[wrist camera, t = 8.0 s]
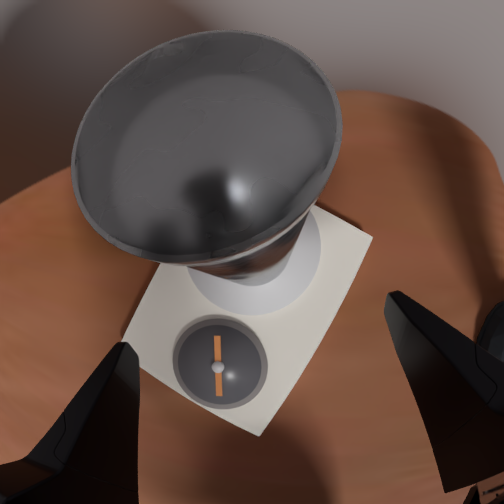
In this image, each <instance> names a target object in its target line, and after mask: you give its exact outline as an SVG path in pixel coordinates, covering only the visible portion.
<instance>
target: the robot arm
mask: <svg viewBox="0 0 504 504" xmlns="http://www.w3.org/2000/svg"><path fill="white" fill-rule="evenodd" d="M384 315H385V318H386V321H387V324H388V327H389V331H390V334H391V337H392V340H393V343H394V346H395V350H396V353H397V355H398V358H399V360H400V362H401V365H402V367H403V370H404V372H405V374H406V377H407V379H408V382H409V384H410V387H411V389H412V392H413V395H414V397H415V400H416V402H417V405H418V408H419V411H420V413H421V416H422V419H423V422H424V425H425V428H426V431H427V434H428V437H429V440H430V443H431V446H432V448H433V453H434V456H435V459H436V463H437V466H438V470H439V473H440V477H441V481H442V485H443V489H444V492H445V493H448V492H451V491H454V490H457V489H461V488H464V487H467V486H469V485H472V484H475V483H476V485H474V486H473V487H471V488H470V490H469V493H468V495H467V497H466V499H465V501H464V503H463V504H504V362H502V361H501V360H499V359H498V358H496V357H495V356H493V355H492V354H490V353H489V352H487V351H486V350H485V349H483V348H482V347H480V346H479V345H478V344H476V343H474V342H473V341H472V340H471V339H469V338H468V337H466V336H465V335H464V334H462V333H461V332H459V331H458V330H457V329H455V328H454V327H452V326H451V325H450V324H448V323H447V322H445V321H444V320H442V319H441V318H439V317H438V316H437V315H435V314H434V313H432V312H431V311H429V310H428V309H426V308H425V307H423V306H422V305H420V304H419V303H417V302H416V301H414V300H413V299H411V298H410V297H408V296H407V295H405V294H404V293H402V292H401V291H398V290H397V291H393V292H390V293H388V294H387V296H386V302H385V307H384ZM139 406H140V375H139V357H138V354H137V353H136V352H135V350H134V349H133V348H132V347H131V345H130V344H129V343H128V342H117V343H116V344H115V345H114V346H113V348H112V349H111V350H110V351H109V353H108V354H107V355H106V356H105V358H104V359H103V360H102V361H101V363H100V364H99V365H98V366H97V368H96V369H95V370H94V372H93V373H92V374H91V375H90V377H89V378H88V379H87V381H86V382H85V383H84V384H83V386H82V387H81V388H80V390H79V391H78V392H77V394H76V395H75V396H74V398H73V399H72V400H71V402H70V403H69V404H68V406H67V407H66V408H65V410H64V412H62V414H61V415H60V417H59V418H58V419H57V421H56V422H55V423H54V424H53V426H52V427H51V428H50V430H49V431H48V432H47V433H46V434H45V436H44V437H43V438H42V439H41V440H40V441H39V443H38V444H37V445H36V446H35V447H34V448H33V450H32V451H31V452H30V453H29V454H28V455H27V456H26V457H24V458H23V459H20V460H17V461H14V462H10V463H6V464H2V465H0V504H139V498H138V424H139Z"/></svg>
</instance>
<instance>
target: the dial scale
mask: <svg viewBox="0 0 504 504" xmlns="http://www.w3.org/2000/svg"><path fill="white" fill-rule="evenodd" d="M372 238H373V237H372V236H370V235H368V234H366V233H365V232H363V231H361V230H359V229H358V228H356V227H354V226H352V225H351V224H349V223H347V222H345V221H343V220H342V219H340V218H338V217H336V216H334V215H332V214H331V213H329V212H327V211H325V210H323V209H321V208H319V207H317V206H316V205H313V206H312V208H311V209H310V211H309V213H308V216H307V218H306V221H305V223H304V226H303V228H302V230H301V233H300V235H299V238H298V240H297V242H296V245H295V247H294V249H293V252H292V254H291V256H290V259H289V261H288V263H287V265H286V267H285V269H284V270H283V271H282V273H281V274H280V275H279V276H278V277H277V278H275V279H274V280H272V281H271V282H269V283H266V284H263V285H259V286H244V285H240V284H237V283H234V282H231V281H228V280H225V279H222V278H219V277H216V276H213V275H210V274H207V273H204V272H201V271H198V270H195V269H192V268H189V267H186V266H175V265H168V264H164V263H160V265H159V267H158V269H157V271H156V273H155V275H154V276H153V278H152V280H151V282H150V284H149V286H148V288H147V290H146V292H145V294H144V296H143V298H142V300H141V302H140V304H139V306H138V308H137V310H136V312H135V314H134V316H133V318H132V320H131V322H130V324H129V326H128V328H127V330H126V332H125V335H124V337H123V339H122V341H121V342H128V343H129V344H130V345H131V347H132V348H133V349H134V350H135V352H136V353H137V354H138V357H139V366H140V367H141V368H142V369H144V370H145V371H147V372H148V373H149V374H151V375H152V376H154V377H155V378H157V379H158V380H160V381H161V382H163V383H164V384H166V385H167V386H169V387H170V388H172V389H173V390H175V391H176V392H178V393H179V394H181V395H183V396H184V397H186V398H188V399H189V400H191V401H193V402H194V403H196V404H198V405H199V406H201V407H203V408H205V409H206V410H208V411H210V412H212V413H213V414H215V415H217V416H219V417H221V418H223V419H224V420H226V421H228V422H230V423H232V424H234V425H236V426H238V427H240V428H242V429H244V430H246V431H248V432H250V433H252V434H254V435H257V436H260V435H261V433H262V432H263V431H264V429H265V428H266V427H267V425H268V424H269V422H270V421H271V419H272V418H273V417H274V415H275V414H276V412H277V411H278V409H279V408H280V406H281V405H282V403H283V402H284V400H285V399H286V397H287V396H288V394H289V393H290V391H291V390H292V388H293V387H294V385H295V383H296V382H297V380H298V379H299V377H300V376H301V374H302V372H303V371H304V369H305V367H306V366H307V364H308V362H309V361H310V359H311V357H312V356H313V354H314V352H315V351H316V349H317V347H318V345H319V344H320V342H321V340H322V338H323V337H324V335H325V333H326V331H327V330H328V328H329V326H330V324H331V322H332V320H333V319H334V317H335V315H336V313H337V311H338V309H339V307H340V305H341V303H342V301H343V300H344V298H345V296H346V294H347V292H348V290H349V288H350V286H351V284H352V282H353V280H354V277H355V275H356V273H357V271H358V269H359V267H360V265H361V263H362V261H363V258H364V256H365V254H366V252H367V250H368V247H369V245H370V243H371V241H372Z"/></svg>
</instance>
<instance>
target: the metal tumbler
mask: <svg viewBox="0 0 504 504" xmlns="http://www.w3.org/2000/svg"><path fill="white" fill-rule="evenodd" d="M341 141H342V116H341V108H340V105H339V101H338V98H337V95H336V93H335V91H334V89H333V87H332V85H331V83H330V81H329V80H328V78H327V77H326V75H325V74H324V73H323V71H322V70H321V69H320V68H319V67H318V66H317V65H316V64H315V63H314V62H313V61H312V60H311V59H310V58H309V57H307V56H306V55H305V54H304V53H302V52H301V51H299V50H298V49H296V48H294V47H293V46H291V45H289V44H287V43H285V42H283V41H280V40H278V39H276V38H273V37H269V36H266V35H263V34H258V33H253V32H247V31H238V30H216V31H206V32H200V33H195V34H190V35H186V36H182V37H179V38H176V39H173V40H170V41H168V42H165V43H163V44H160V45H158V46H156V47H154V48H152V49H150V50H148V51H147V52H145V53H143V54H142V55H140V56H139V57H137V58H135V59H134V60H133V61H131V62H130V63H128V64H127V65H126V66H124V67H123V68H122V69H121V70H120V71H119V72H117V73H116V74H115V75H114V76H113V77H112V78H111V79H110V80H109V81H108V83H106V85H105V86H104V87H103V88H102V89H101V90H100V92H99V93H98V94H97V96H96V97H95V98H94V100H93V101H92V103H91V105H90V106H89V108H88V109H87V111H86V113H85V115H84V117H83V119H82V122H81V124H80V126H79V129H78V132H77V134H76V137H75V142H74V146H73V151H72V160H71V177H72V184H73V189H74V194H75V197H76V199H77V202H78V205H79V207H80V209H81V211H82V213H83V214H84V216H85V218H86V220H87V221H88V222H89V223H90V225H91V226H92V227H93V228H94V230H95V231H96V232H97V233H99V234H100V235H101V236H102V237H103V238H104V239H105V240H107V241H108V242H110V243H111V244H113V245H114V246H116V247H118V248H119V249H121V250H123V251H126V252H128V253H131V254H133V255H136V256H138V257H141V258H145V259H148V260H151V261H155V262H159V263H164V264H168V265H175V266H186V267H189V268H192V269H195V270H198V271H201V272H204V273H207V274H210V275H213V276H216V277H219V278H222V279H225V280H228V281H231V282H234V283H237V284H240V285H244V286H259V285H263V284H266V283H269V282H271V281H272V280H274V279H275V278H277V277H278V276H279V275H280V274H281V273H282V271H283V270H284V269H285V267H286V265H287V263H288V261H289V259H290V256H291V254H292V252H293V249H294V247H295V245H296V242H297V240H298V238H299V235H300V233H301V230H302V228H303V226H304V223H305V221H306V218H307V216H308V213H309V211H310V209H311V208H312V206H313V205H314V204H315V202H316V201H317V199H318V198H319V196H320V194H321V193H322V191H323V190H324V188H325V185H326V183H327V181H328V179H329V176H330V174H331V172H332V169H333V167H334V165H335V162H336V160H337V157H338V153H339V149H340V145H341Z"/></svg>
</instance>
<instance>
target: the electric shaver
mask: <svg viewBox="0 0 504 504" xmlns="http://www.w3.org/2000/svg"><path fill="white" fill-rule="evenodd" d="M477 344H478V345H479V346H480V347H482V348H483V349H485V350H486V351H487V352H489V353H490V354H492V355H493V356H495V357H496V358H498V359H499V360H501V361H502V362H504V301H503V302H500V303H498V304H497V305H496V306H495V307H494V309H493V310H492V311H491V312H490V313H489V315H488V316H487V318H486V320H485V322H484V325H483V327H482V329H481V331H480V334H479V336H478V338H477Z"/></svg>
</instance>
